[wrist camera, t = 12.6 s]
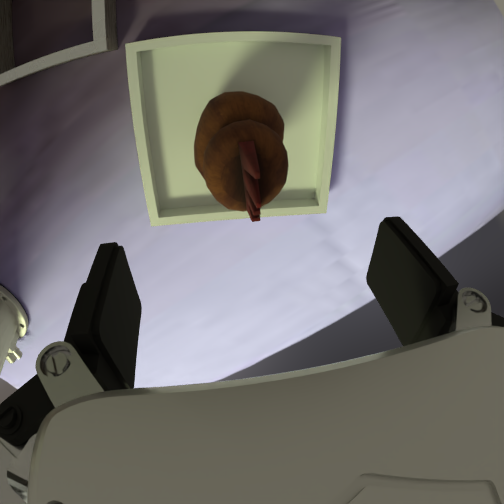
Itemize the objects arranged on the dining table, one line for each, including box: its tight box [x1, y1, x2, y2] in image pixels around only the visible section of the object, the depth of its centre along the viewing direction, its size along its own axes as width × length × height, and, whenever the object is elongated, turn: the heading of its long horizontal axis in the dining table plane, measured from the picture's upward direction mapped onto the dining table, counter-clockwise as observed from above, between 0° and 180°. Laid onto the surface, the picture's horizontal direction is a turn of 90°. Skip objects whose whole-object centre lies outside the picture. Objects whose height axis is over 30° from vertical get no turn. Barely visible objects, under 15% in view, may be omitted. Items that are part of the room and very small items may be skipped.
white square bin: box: [0, 0, 118, 86], centre depth 14 cm, size 10×11×3 cm
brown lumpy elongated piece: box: [194, 91, 289, 222], centre depth 18 cm, size 7×6×15 cm
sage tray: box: [125, 31, 341, 226], centre depth 24 cm, size 16×16×2 cm
